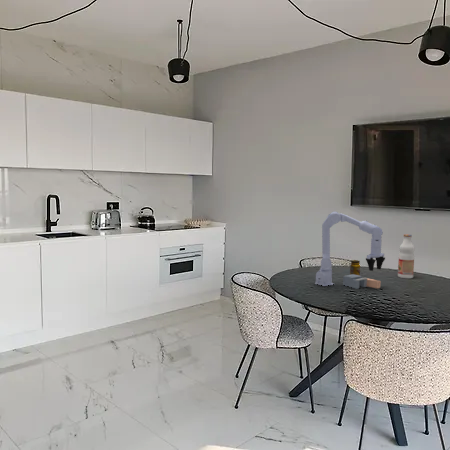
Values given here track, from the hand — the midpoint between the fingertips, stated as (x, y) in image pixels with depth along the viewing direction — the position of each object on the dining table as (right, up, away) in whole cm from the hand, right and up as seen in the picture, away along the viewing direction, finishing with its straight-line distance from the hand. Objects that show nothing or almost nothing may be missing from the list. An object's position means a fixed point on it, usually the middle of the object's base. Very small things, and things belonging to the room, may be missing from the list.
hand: (374, 269), depth 263 cm
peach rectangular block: (-1, -10, +2) cm, 11 cm away
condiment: (-6, -8, +22) cm, 25 cm away
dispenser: (-11, -10, +3) cm, 15 cm away
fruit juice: (+30, -8, +30) cm, 43 cm away
